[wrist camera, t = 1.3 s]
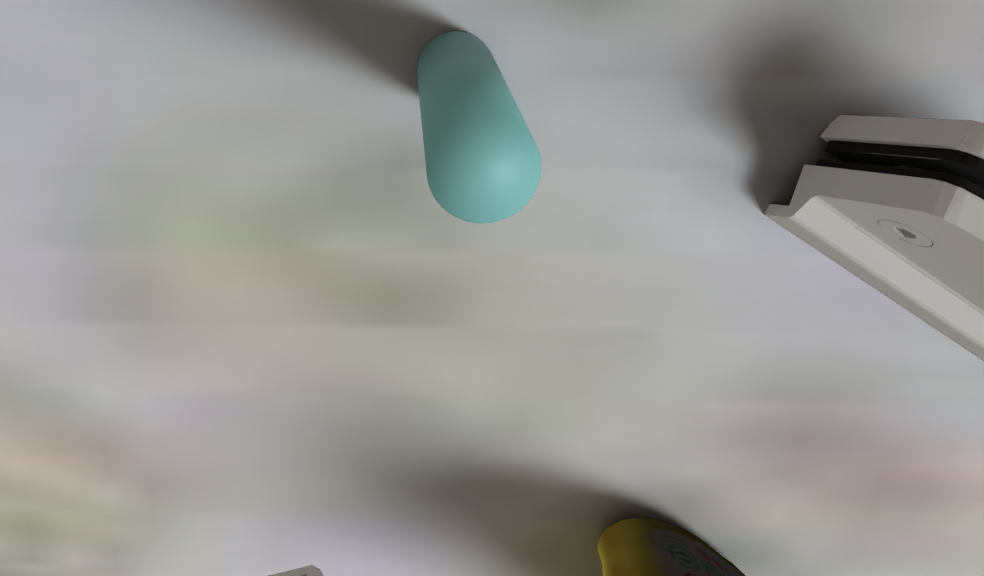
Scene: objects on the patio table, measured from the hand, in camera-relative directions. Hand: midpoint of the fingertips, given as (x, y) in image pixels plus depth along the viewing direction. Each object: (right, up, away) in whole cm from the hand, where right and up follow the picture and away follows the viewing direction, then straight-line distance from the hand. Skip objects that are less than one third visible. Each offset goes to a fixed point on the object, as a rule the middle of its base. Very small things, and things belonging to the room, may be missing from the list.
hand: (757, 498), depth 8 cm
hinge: (+18, +5, +31) cm, 36 cm away
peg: (-4, +10, +25) cm, 28 cm away
